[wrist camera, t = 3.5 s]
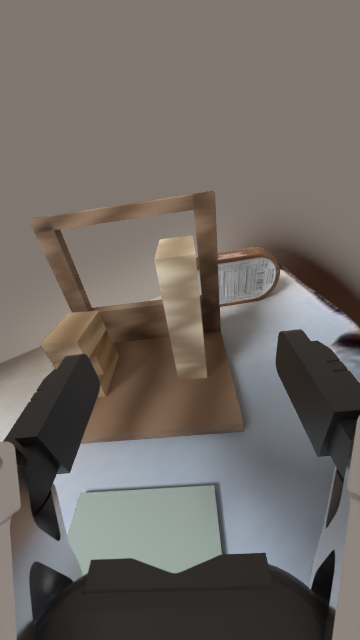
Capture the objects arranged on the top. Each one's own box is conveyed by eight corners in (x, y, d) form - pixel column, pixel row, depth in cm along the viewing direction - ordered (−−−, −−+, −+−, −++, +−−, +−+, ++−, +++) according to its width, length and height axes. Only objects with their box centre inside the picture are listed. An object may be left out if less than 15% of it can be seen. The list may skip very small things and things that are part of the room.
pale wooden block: (178, 380, 24) (154, 259, 17) (178, 346, 28) (159, 239, 21) (207, 377, 24) (195, 254, 16) (202, 343, 28) (191, 235, 21)
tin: (271, 291, 39) (276, 241, 34) (279, 299, 36) (286, 247, 32) (184, 305, 39) (178, 257, 34) (187, 314, 36) (180, 264, 32)
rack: (45, 446, 21) (-112, 269, 11) (93, 346, 33) (35, 217, 23) (243, 431, 20) (252, 218, 10) (219, 333, 31) (213, 190, 22)
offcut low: (68, 400, 24) (58, 384, 22) (87, 359, 28) (80, 344, 27) (105, 396, 23) (98, 380, 22) (118, 356, 28) (113, 341, 27)
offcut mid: (63, 382, 22) (52, 364, 21) (77, 346, 27) (68, 330, 26) (104, 374, 23) (95, 356, 21) (110, 339, 27) (104, 323, 26)
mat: (-8, 799, 9) (-14, 802, 9) (82, 495, 17) (80, 492, 17) (249, 809, 8) (250, 814, 8) (214, 487, 17) (214, 485, 16)
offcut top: (52, 363, 21) (40, 343, 20) (76, 330, 25) (67, 312, 24) (86, 362, 21) (76, 341, 19) (106, 329, 25) (99, 310, 23)
